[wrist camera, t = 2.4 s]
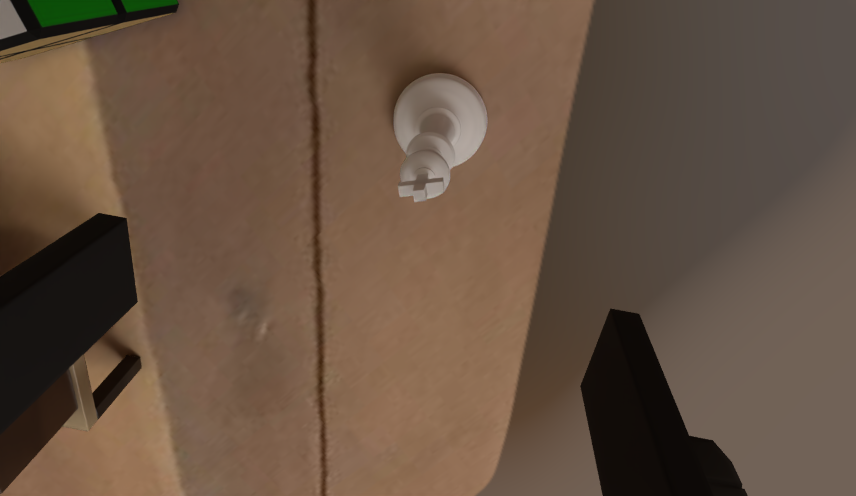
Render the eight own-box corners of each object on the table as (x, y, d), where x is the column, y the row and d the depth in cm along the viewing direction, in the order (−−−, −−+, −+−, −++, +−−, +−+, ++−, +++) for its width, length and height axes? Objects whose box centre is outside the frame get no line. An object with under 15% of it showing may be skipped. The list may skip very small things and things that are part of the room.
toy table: (-60, 215, 34) (-159, 263, 29) (124, 248, 34) (58, 302, 29) (-20, 338, 39) (-98, 397, 34) (141, 367, 39) (88, 431, 34)
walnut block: (16, 322, 30) (-83, 400, 25) (60, 330, 30) (-30, 410, 25) (39, 400, 33) (-46, 485, 28) (79, 408, 33) (1, 494, 28)
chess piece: (385, 79, 28) (339, 138, 19) (482, 66, 27) (480, 121, 18) (402, 170, 30) (366, 259, 21) (491, 160, 29) (493, 249, 20)
